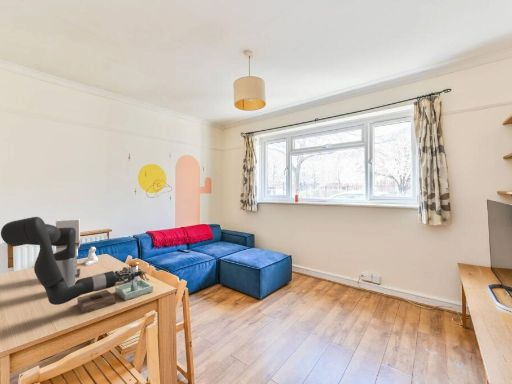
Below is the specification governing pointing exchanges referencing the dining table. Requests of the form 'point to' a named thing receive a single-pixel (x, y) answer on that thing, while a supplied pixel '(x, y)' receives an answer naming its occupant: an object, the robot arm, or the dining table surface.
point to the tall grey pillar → (76, 226)
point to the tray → (128, 294)
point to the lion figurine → (139, 270)
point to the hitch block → (96, 301)
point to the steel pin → (134, 282)
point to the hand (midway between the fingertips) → (139, 271)
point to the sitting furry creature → (91, 257)
